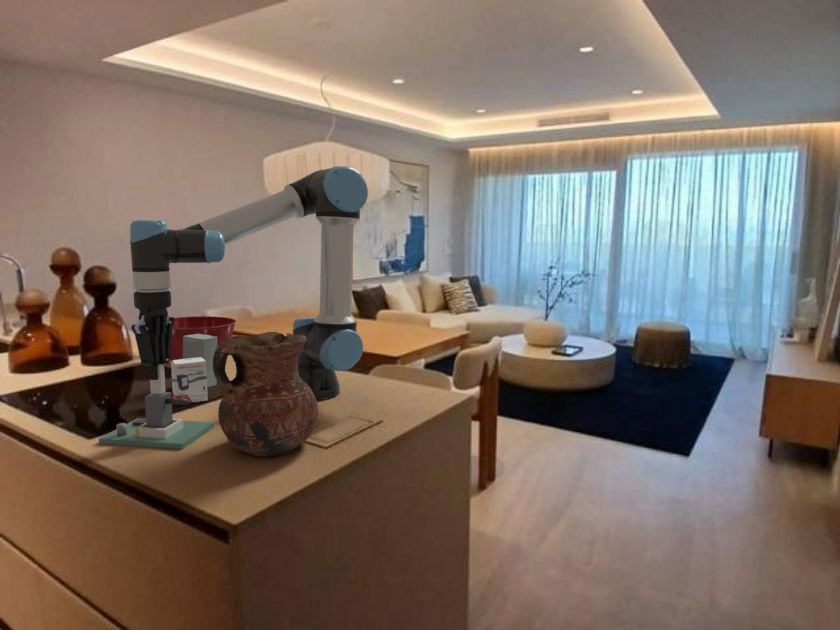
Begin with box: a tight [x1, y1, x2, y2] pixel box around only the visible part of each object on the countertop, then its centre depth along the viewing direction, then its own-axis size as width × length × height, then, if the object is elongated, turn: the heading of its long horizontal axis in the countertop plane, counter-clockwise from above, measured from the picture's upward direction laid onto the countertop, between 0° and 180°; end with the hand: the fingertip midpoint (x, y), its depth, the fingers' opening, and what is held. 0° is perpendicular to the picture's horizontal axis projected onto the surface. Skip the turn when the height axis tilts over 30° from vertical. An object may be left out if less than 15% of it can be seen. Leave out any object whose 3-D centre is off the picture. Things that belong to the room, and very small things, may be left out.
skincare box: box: [183, 334, 218, 389], centre depth 169 cm, size 8×7×16 cm
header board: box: [98, 417, 215, 450], centre depth 128 cm, size 20×14×4 cm
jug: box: [213, 331, 319, 457], centre depth 121 cm, size 22×21×25 cm
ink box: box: [170, 357, 209, 406], centre depth 154 cm, size 8×5×12 cm, turn 123°
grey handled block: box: [144, 391, 191, 428], centre depth 126 cm, size 10×4×9 cm, turn 83°
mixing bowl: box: [168, 315, 237, 362], centre depth 198 cm, size 28×28×16 cm
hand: (158, 392), depth 126 cm, fingers closed
